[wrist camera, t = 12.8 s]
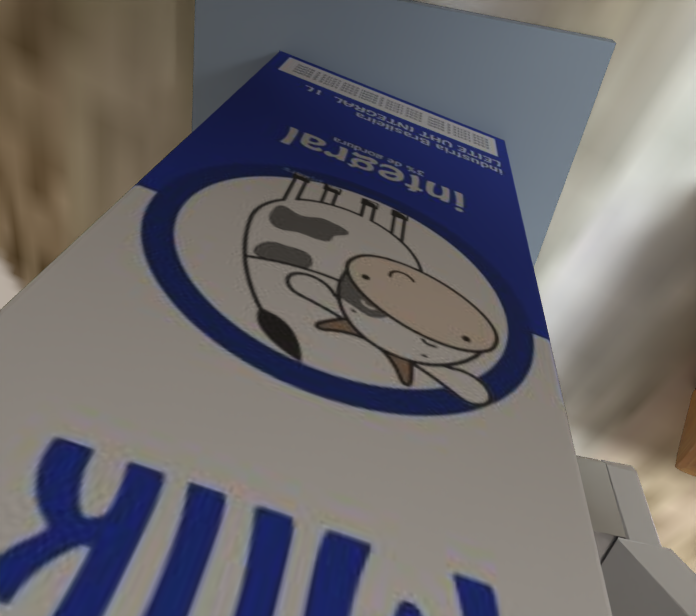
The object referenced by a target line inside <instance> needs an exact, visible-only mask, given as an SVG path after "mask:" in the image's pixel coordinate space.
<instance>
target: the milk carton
mask: <svg viewBox="0 0 696 616" xmlns="http://www.w3.org/2000/svg"><path fill="white" fill-rule="evenodd" d="M0 616H612V612H611V608H610V603H609V599H608V595H607V590H606V586H605V581H604V577H603V572H602V568H601V564H600V559H599V555H598V550H597V546H596V542H595V537H594V533H593V528H592V524H591V519H590V515H589V511H588V506H587V502H586V497H585V493H584V489H583V484H582V480H581V475H580V471H579V466H578V462H577V458H576V453H575V449H574V444H573V440H572V436H571V431H570V427H569V422H568V418H567V413H566V409H565V405H564V400H563V396H562V391H561V387H560V383H559V378H558V374H557V369H556V365H555V360H554V356H553V352H552V347H551V343H550V338H549V334H548V330H547V325H546V321H545V316H544V312H543V307H542V303H541V299H540V294H539V290H538V285H537V281H536V277H535V272H534V268H533V263H532V259H531V254H530V250H529V246H528V241H527V237H526V232H525V228H524V224H523V219H522V215H521V210H520V206H519V201H518V197H517V193H516V188H515V184H514V179H513V175H512V171H511V166H510V162H509V157H508V153H507V148H506V144H505V141H504V140H502V139H500V138H497V137H495V136H492V135H490V134H487V133H485V132H482V131H480V130H477V129H475V128H472V127H470V126H467V125H465V124H462V123H460V122H457V121H455V120H452V119H450V118H447V117H445V116H442V115H440V114H437V113H435V112H432V111H430V110H427V109H425V108H422V107H420V106H417V105H415V104H412V103H410V102H407V101H405V100H402V99H400V98H397V97H395V96H392V95H390V94H387V93H385V92H382V91H380V90H377V89H375V88H372V87H370V86H367V85H365V84H362V83H360V82H357V81H355V80H352V79H350V78H347V77H345V76H342V75H340V74H337V73H335V72H332V71H330V70H327V69H325V68H322V67H320V66H317V65H315V64H312V63H310V62H307V61H305V60H302V59H300V58H297V57H295V56H292V55H290V54H287V53H285V52H282V51H280V50H279V52H278V53H277V54H276V55H275V56H274V57H273V58H272V59H271V60H270V61H269V62H268V63H266V64H265V65H264V66H263V67H262V68H261V69H260V70H259V71H258V72H257V73H256V74H255V75H254V76H252V77H251V78H250V79H249V80H248V81H247V82H246V83H245V84H244V85H243V86H242V87H241V88H239V89H238V90H237V91H236V92H235V93H234V94H233V95H232V96H231V97H230V98H229V99H228V100H226V101H225V102H224V103H223V104H222V105H221V106H220V107H219V108H218V109H217V110H216V111H215V112H214V113H212V114H211V115H210V116H209V117H208V118H207V119H206V120H205V121H204V122H203V123H202V124H201V125H199V126H198V127H197V128H196V129H195V130H194V131H193V132H192V133H191V134H190V135H189V136H188V137H187V138H185V139H184V140H183V141H182V142H181V143H180V144H179V145H178V146H177V147H176V148H175V149H174V150H172V151H171V152H170V153H169V154H168V155H167V156H166V157H165V158H164V159H163V160H162V161H161V162H159V163H158V164H157V165H156V166H155V167H154V168H153V169H152V170H151V171H150V172H149V173H148V174H147V175H145V176H144V177H143V178H142V179H141V180H140V181H139V182H138V183H137V184H136V185H135V186H134V187H132V188H131V189H130V190H129V191H128V192H127V193H126V194H125V195H124V196H123V197H122V198H121V199H119V200H118V201H117V202H116V203H115V204H114V205H113V206H112V207H111V208H110V209H109V210H108V211H107V212H105V213H104V214H103V215H102V216H101V217H100V218H99V219H98V220H97V221H96V222H95V223H94V224H92V225H91V226H90V227H89V228H88V229H87V230H86V231H85V232H84V233H83V234H82V235H81V236H80V237H78V238H77V239H76V240H75V241H74V242H73V243H72V244H71V245H70V246H69V247H68V248H67V249H65V250H64V251H63V252H62V253H61V254H60V255H59V256H58V257H57V258H56V259H55V260H54V261H52V262H51V263H50V264H49V265H48V266H47V267H46V268H45V269H44V270H43V271H42V272H41V273H40V274H38V275H37V276H36V277H35V278H34V279H33V280H32V281H31V282H30V283H29V284H28V285H27V286H25V287H24V288H23V289H22V290H21V291H20V292H19V293H18V294H17V295H16V296H15V297H14V298H13V299H12V300H10V301H9V302H8V303H7V304H6V305H5V306H4V307H3V308H2V309H1V310H0Z"/></svg>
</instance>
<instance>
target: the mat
mask: <svg viewBox="0 0 696 616" xmlns="http://www.w3.org/2000/svg"><path fill="white" fill-rule="evenodd" d="M615 45H616V43H615V42H614V41H613V40H612V39H606V38H601V37H596V36H591V35H586V34H581V33H576V32H571V31H565V30H560V29H555V28H550V27H545V26H540V25H535V24H530V23H525V22H519V21H514V20H509V19H504V18H499V17H494V16H489V15H484V14H478V13H473V12H468V11H463V10H458V9H453V8H448V7H443V6H438V5H432V4H427V3H422V2H417V1H412V0H195V27H194V67H193V107H192V132H193V131H194V130H195V129H196V128H197V127H198V126H199V125H201V124H202V123H203V122H204V121H205V120H206V119H207V118H208V117H209V116H210V115H211V114H212V113H214V112H215V111H216V110H217V109H218V108H219V107H220V106H221V105H222V104H223V103H224V102H225V101H226V100H228V99H229V98H230V97H231V96H232V95H233V94H234V93H235V92H236V91H237V90H238V89H239V88H241V87H242V86H243V85H244V84H245V83H246V82H247V81H248V80H249V79H250V78H251V77H252V76H254V75H255V74H256V73H257V72H258V71H259V70H260V69H261V68H262V67H263V66H264V65H265V64H266V63H268V62H269V61H270V60H271V59H272V58H273V57H274V56H275V55H276V54H277V53H278V52H279V50H280V51H282V52H285V53H287V54H290V55H292V56H295V57H297V58H300V59H302V60H305V61H307V62H310V63H312V64H315V65H317V66H320V67H322V68H325V69H327V70H330V71H332V72H335V73H337V74H340V75H342V76H345V77H347V78H350V79H352V80H355V81H357V82H360V83H362V84H365V85H367V86H370V87H372V88H375V89H377V90H380V91H382V92H385V93H387V94H390V95H392V96H395V97H397V98H400V99H402V100H405V101H407V102H410V103H412V104H415V105H417V106H420V107H422V108H425V109H427V110H430V111H432V112H435V113H437V114H440V115H442V116H445V117H447V118H450V119H452V120H455V121H457V122H460V123H462V124H465V125H467V126H470V127H472V128H475V129H477V130H480V131H482V132H485V133H487V134H490V135H492V136H495V137H497V138H500V139H502V140H504V141H505V144H506V148H507V153H508V157H509V162H510V166H511V171H512V175H513V179H514V184H515V188H516V193H517V197H518V201H519V206H520V210H521V215H522V219H523V224H524V228H525V232H526V237H527V241H528V246H529V250H530V254H531V259H532V263H533V268H534V265H535V262H536V260H537V257H538V254H539V251H540V249H541V246H542V243H543V241H544V238H545V235H546V232H547V230H548V227H549V224H550V222H551V219H552V216H553V213H554V211H555V208H556V205H557V203H558V200H559V197H560V194H561V192H562V189H563V186H564V184H565V181H566V178H567V175H568V173H569V170H570V167H571V165H572V162H573V159H574V156H575V154H576V151H577V148H578V146H579V143H580V140H581V137H582V135H583V132H584V129H585V127H586V124H587V121H588V118H589V116H590V113H591V110H592V107H593V105H594V102H595V99H596V97H597V94H598V91H599V88H600V86H601V83H602V80H603V78H604V75H605V72H606V69H607V67H608V64H609V61H610V59H611V56H612V53H613V50H614V48H615Z"/></svg>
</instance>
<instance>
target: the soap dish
mask: <svg viewBox="0 0 696 616" xmlns="http://www.w3.org/2000/svg"><path fill="white" fill-rule="evenodd" d="M675 467H676V468H677V469H679V470H681V471H683V472H685V473H688V474H690V475H693V476H696V388H695V390H694V392H693V394H692V397H691V401H690V406H689V409H688V413H687V417H686V420H685V424H684V428H683V432H682V436H681V441H680V445H679V448H678V453H677V459H676V464H675Z"/></svg>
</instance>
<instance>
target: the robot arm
mask: <svg viewBox="0 0 696 616" xmlns="http://www.w3.org/2000/svg"><path fill="white" fill-rule="evenodd" d="M576 458H577V462H578V466H579V471H580V475H581V480H582V484H583V489H584V493H585V497H586V502H587V506H588V511H589V515H590V519H591V524H592V528H593V533H594V537H595V542H596V546H597V550H598V555H599V559H600V564H601V568H602V572H603V577H604V581H605V586H606V590H607V595H608V599H609V603H610V608H611V612H612V616H696V574H695V573H694V572H693V571H692V570H691V569H690V568H689V567H688V566H687V565H686V564H685V563H684V562H683V561H682V560H681V559H680V558H679V557H678V556H677V555H676V554H675V553H674V552H673V551H672V550H671V549H669V548H664V547H662V546H661V543H660V540H659V537H658V534H657V531H656V528H655V525H654V522H653V519H652V516H651V513H650V510H649V507H648V504H647V501H646V498H645V495H644V492H643V489H642V486H641V483H640V480H639V477H638V474H637V472H636V470H635V469H634V468H633V467H632V466H630V465H625V464H620V463H615V462H609V461H604V460H601V461H600V460H597V459H592V458H587V457H582V456H577V455H576Z"/></svg>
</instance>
